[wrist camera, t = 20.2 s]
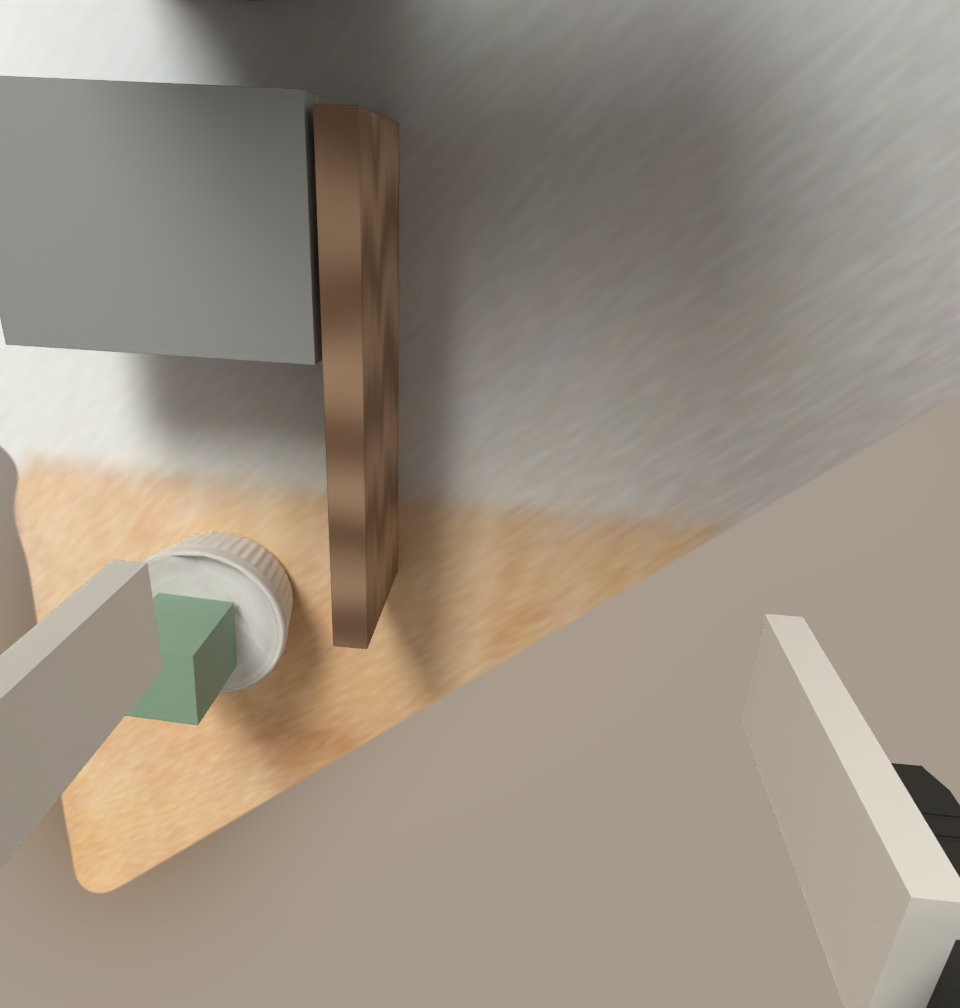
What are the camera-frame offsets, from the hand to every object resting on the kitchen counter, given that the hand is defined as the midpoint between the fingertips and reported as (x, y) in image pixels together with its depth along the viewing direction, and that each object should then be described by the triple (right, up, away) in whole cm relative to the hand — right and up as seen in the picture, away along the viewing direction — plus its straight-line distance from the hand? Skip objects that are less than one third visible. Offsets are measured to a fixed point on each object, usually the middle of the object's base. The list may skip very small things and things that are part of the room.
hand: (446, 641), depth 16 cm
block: (-18, -5, +33) cm, 38 cm away
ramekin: (-17, -3, +38) cm, 42 cm away
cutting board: (-5, +11, +30) cm, 33 cm away
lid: (-15, +17, +21) cm, 31 cm away
